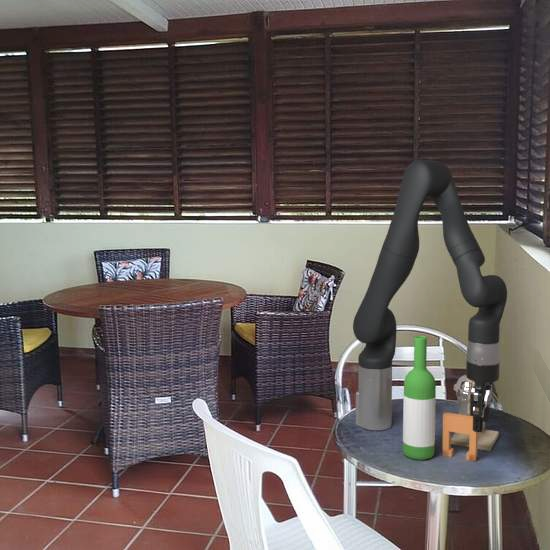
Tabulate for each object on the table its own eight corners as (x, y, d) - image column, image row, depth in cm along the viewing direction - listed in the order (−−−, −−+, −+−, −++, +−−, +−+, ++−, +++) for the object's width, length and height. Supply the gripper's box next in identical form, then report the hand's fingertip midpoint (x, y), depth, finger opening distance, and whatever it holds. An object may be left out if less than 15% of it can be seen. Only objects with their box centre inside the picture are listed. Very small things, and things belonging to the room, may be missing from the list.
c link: (442, 455, 165) (442, 414, 163) (444, 452, 166) (445, 412, 165) (475, 461, 161) (476, 419, 159) (477, 458, 163) (478, 417, 161)
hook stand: (447, 448, 169) (448, 371, 166) (460, 429, 181) (462, 358, 178) (487, 455, 164) (490, 377, 161) (498, 435, 176) (500, 362, 174)
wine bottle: (396, 451, 167) (397, 335, 163) (421, 446, 170) (423, 332, 166) (414, 463, 160) (417, 342, 156) (441, 457, 163) (443, 338, 159)
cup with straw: (452, 416, 191) (454, 348, 188) (485, 419, 189) (487, 350, 186) (452, 427, 183) (454, 356, 180) (486, 429, 181) (489, 358, 178)
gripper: (473, 350, 166) (471, 414, 168) (459, 365, 153) (457, 434, 156) (505, 354, 162) (502, 419, 164) (493, 369, 150) (491, 439, 152)
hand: (480, 426), depth 160 cm, fingers open, 6 cm apart
